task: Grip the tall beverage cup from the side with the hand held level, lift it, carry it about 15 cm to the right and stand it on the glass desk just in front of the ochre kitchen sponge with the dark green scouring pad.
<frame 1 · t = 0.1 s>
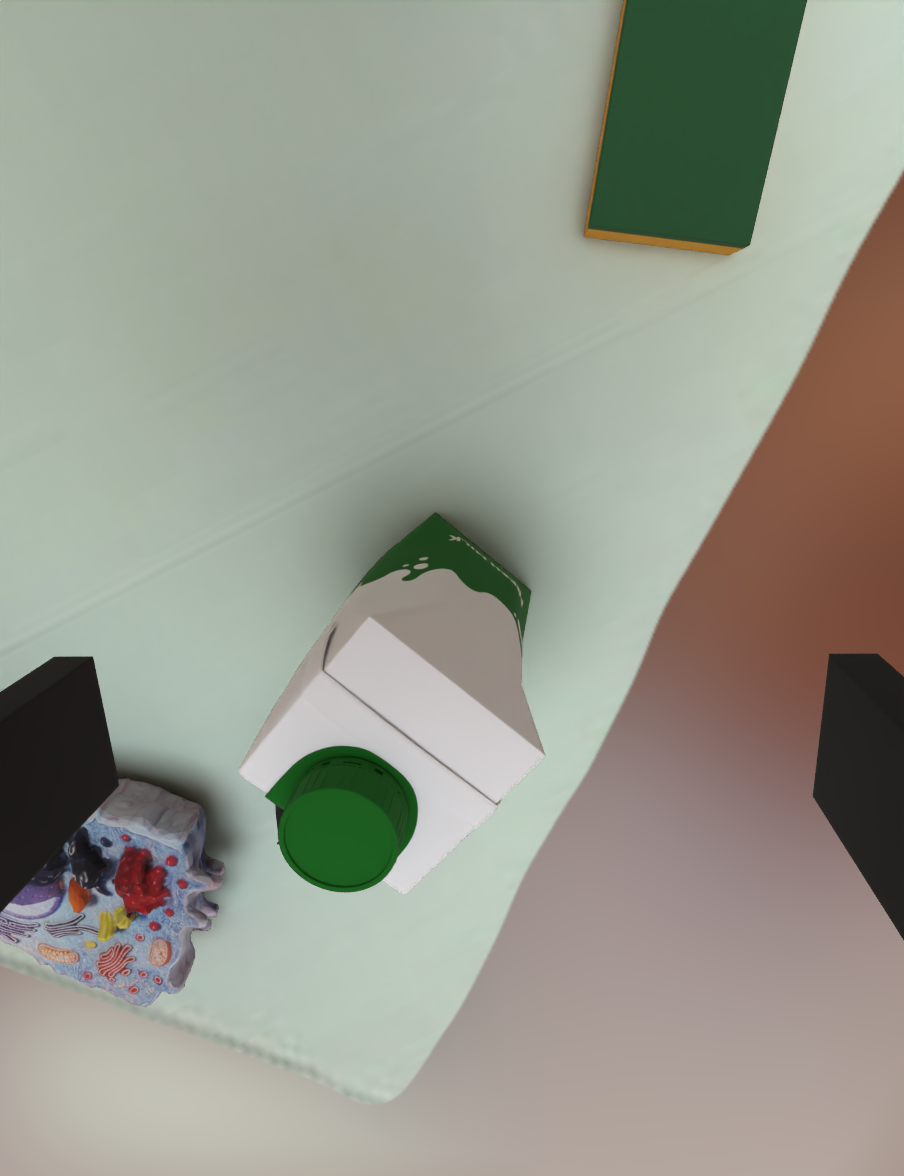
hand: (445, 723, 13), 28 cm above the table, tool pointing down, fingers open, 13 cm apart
cell model: (99, 828, 50), on the table
milk carton: (445, 595, 43), on the table
sponge: (681, 115, 34), on the table
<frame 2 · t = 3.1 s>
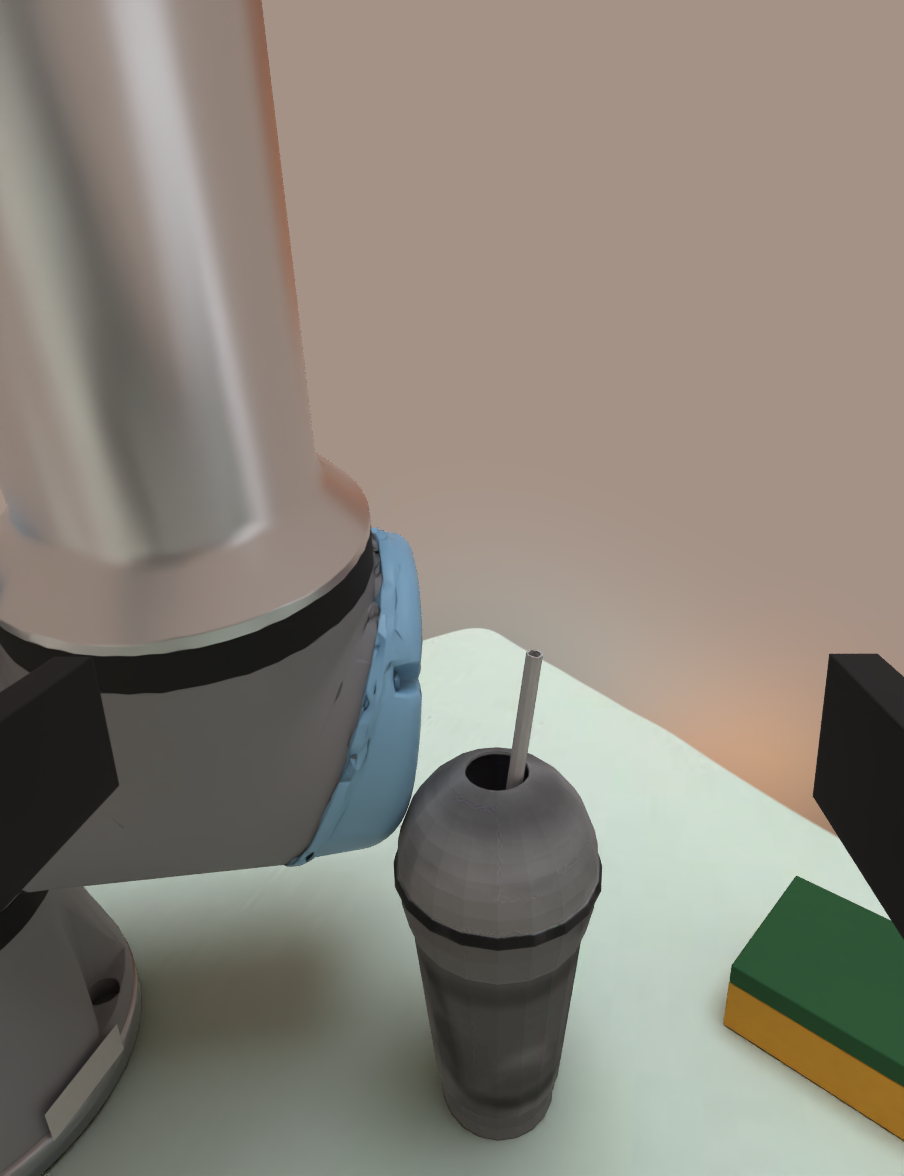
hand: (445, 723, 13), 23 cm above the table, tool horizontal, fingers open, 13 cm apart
sponge: (885, 1048, 31), on the table
beverage cup: (497, 1084, 31), on the table
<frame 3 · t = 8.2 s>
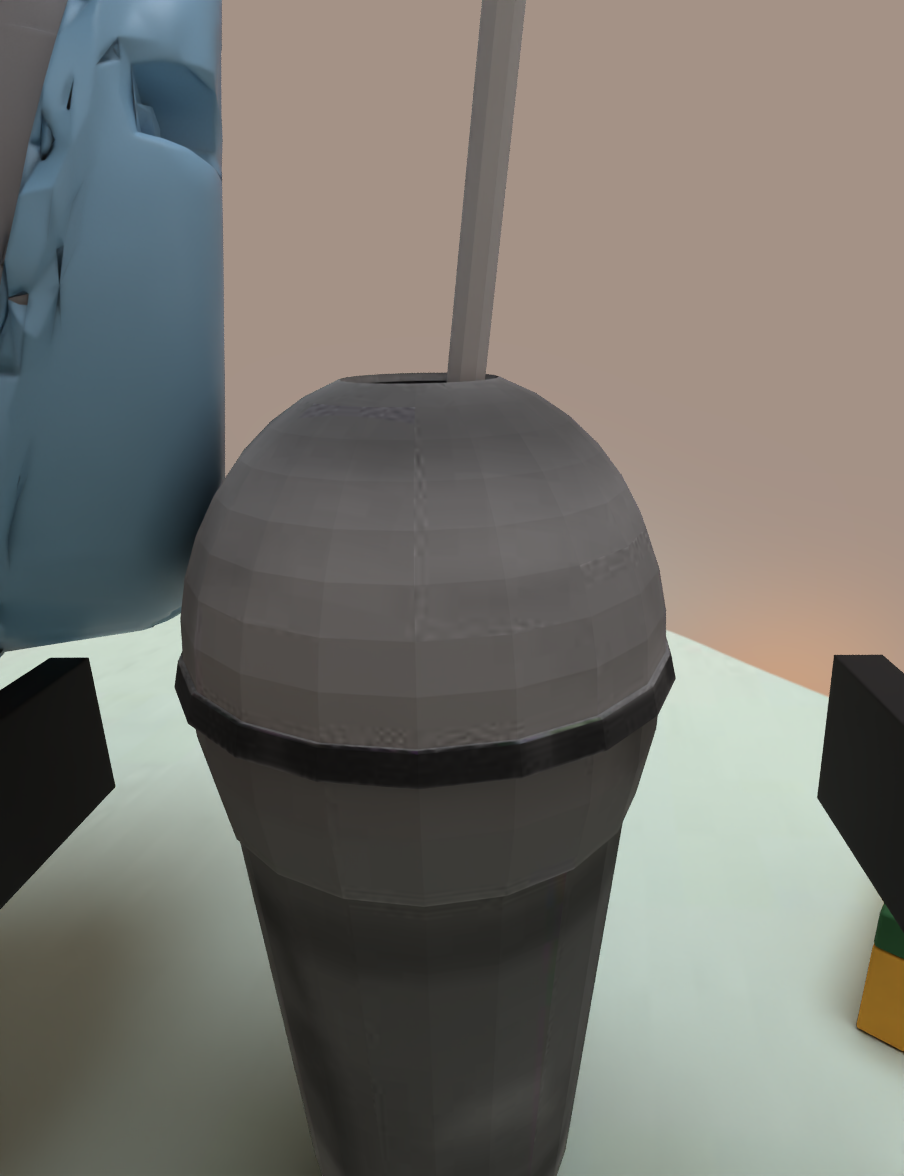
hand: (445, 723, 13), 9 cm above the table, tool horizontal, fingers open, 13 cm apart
beverage cup: (442, 1172, 15), on the table, touching arm
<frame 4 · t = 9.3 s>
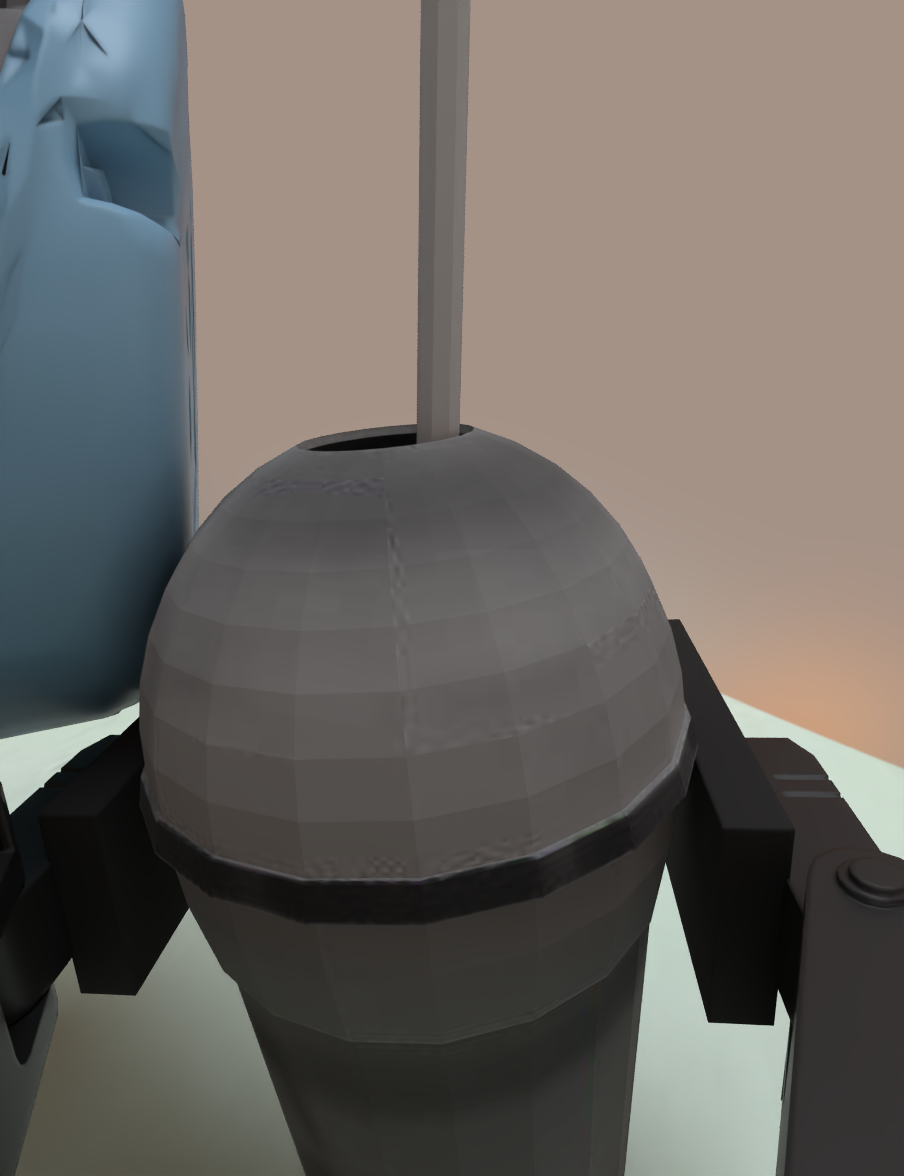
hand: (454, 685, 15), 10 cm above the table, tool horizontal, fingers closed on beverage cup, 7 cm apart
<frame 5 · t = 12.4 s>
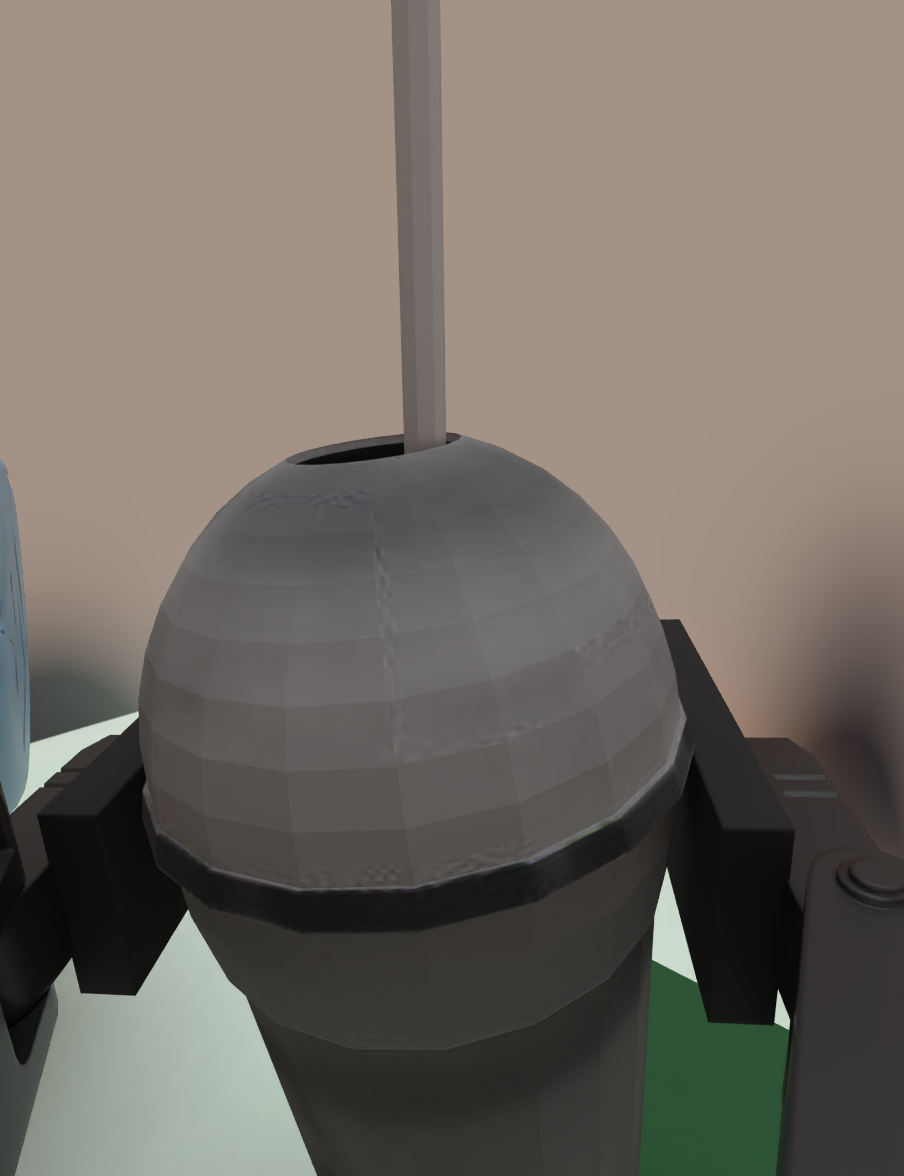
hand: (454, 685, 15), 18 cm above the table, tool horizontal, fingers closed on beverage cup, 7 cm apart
when the fingers open (10 cm above the table, at t = 15.7 s): beverage cup stays where it is, on the table.
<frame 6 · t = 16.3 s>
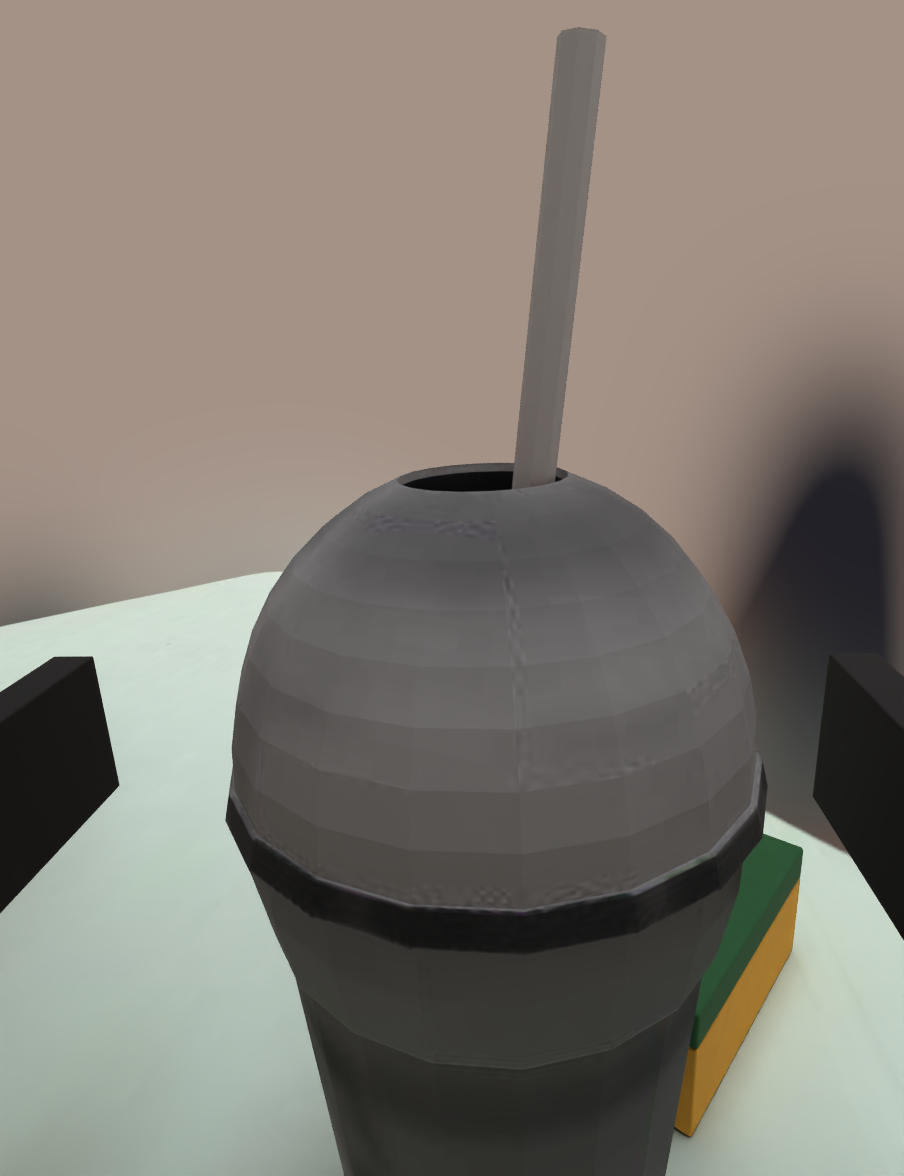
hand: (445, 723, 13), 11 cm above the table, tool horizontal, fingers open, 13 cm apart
sponge: (565, 934, 23), on the table
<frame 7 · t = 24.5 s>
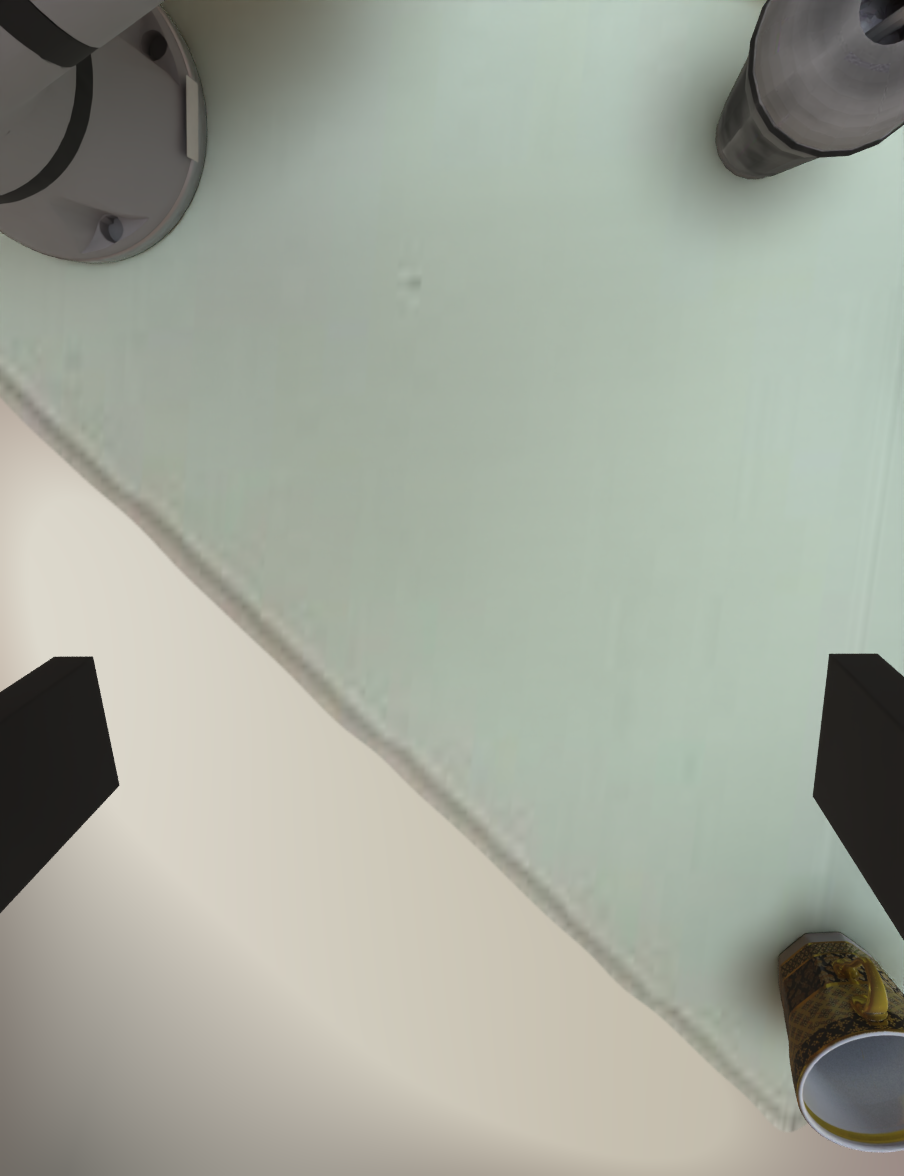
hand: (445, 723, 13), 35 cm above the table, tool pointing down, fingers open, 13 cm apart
ceramic cup: (821, 948, 55), on the table
beverage cup: (758, 132, 40), on the table
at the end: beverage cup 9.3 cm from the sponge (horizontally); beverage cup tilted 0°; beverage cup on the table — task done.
